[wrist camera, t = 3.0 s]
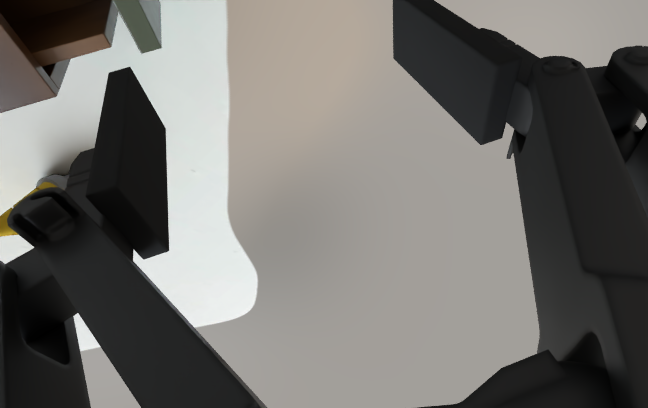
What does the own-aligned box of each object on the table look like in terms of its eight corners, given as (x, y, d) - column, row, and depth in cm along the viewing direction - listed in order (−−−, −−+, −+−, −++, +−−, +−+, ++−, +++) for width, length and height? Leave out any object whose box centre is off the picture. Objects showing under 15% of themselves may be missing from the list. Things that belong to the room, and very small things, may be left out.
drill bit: (88, 214, 39) (-27, 264, 30) (69, 164, 37) (-60, 203, 29) (122, 218, 36) (8, 272, 28) (104, 165, 34) (-25, 207, 26)
